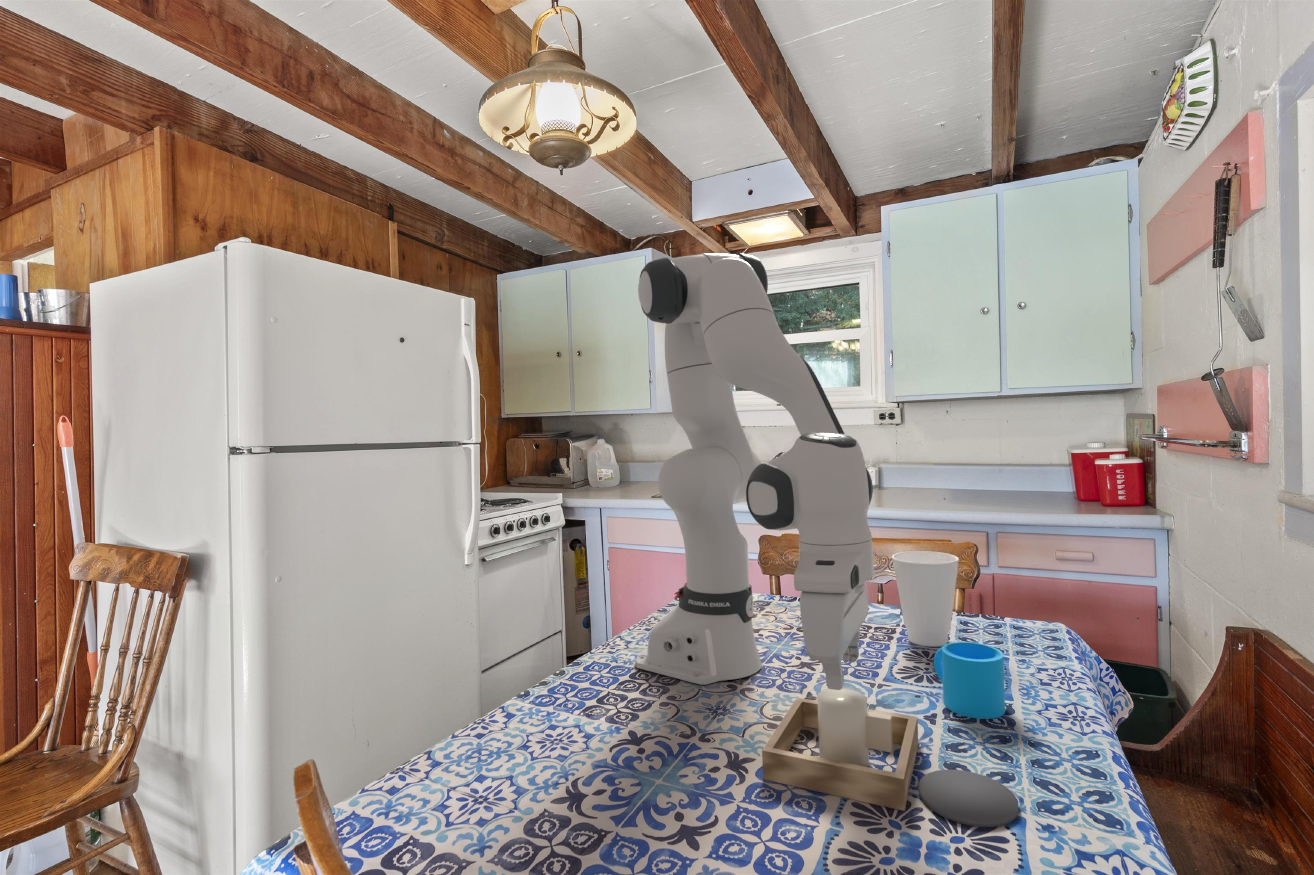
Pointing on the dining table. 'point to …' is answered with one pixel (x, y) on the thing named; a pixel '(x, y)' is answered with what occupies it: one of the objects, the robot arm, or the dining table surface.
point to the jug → (850, 727)
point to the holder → (836, 774)
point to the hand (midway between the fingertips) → (843, 673)
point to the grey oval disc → (968, 798)
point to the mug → (972, 679)
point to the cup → (926, 594)
